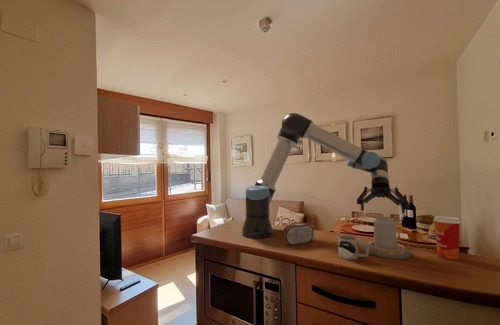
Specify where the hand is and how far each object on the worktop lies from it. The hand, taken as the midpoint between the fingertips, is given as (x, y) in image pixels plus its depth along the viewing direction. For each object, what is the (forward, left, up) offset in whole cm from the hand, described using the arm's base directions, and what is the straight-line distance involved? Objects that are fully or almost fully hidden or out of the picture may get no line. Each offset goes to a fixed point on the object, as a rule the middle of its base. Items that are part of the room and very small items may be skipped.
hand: (382, 217), depth 99 cm
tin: (-27, -23, -11) cm, 37 cm away
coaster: (+3, -10, -11) cm, 15 cm away
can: (+3, -10, -10) cm, 15 cm away
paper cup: (+21, -2, -11) cm, 24 cm away
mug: (-4, -25, -11) cm, 28 cm away
